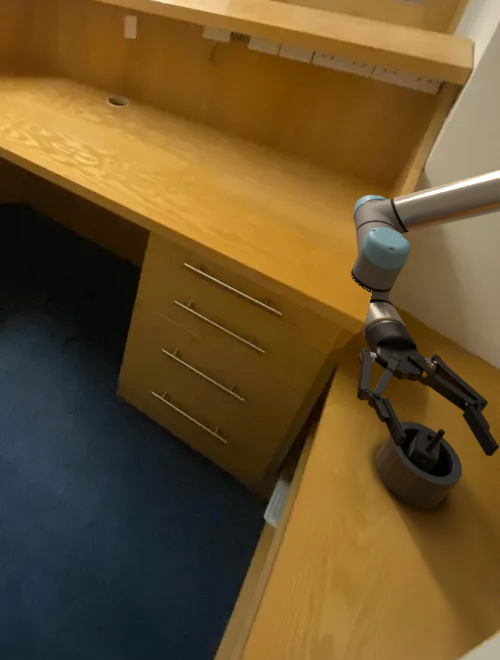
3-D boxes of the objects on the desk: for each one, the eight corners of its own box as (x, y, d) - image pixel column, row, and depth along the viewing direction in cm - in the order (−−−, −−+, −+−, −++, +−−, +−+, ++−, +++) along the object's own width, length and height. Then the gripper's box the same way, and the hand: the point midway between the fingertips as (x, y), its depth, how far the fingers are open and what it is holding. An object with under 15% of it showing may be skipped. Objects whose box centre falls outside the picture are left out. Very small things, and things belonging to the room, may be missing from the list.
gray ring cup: (430, 455, 91) (449, 431, 87) (451, 517, 83) (472, 493, 79) (369, 439, 94) (384, 414, 90) (383, 497, 86) (400, 473, 82)
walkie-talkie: (399, 456, 91) (432, 408, 83) (421, 468, 89) (457, 420, 81) (395, 479, 88) (429, 431, 80) (418, 492, 86) (455, 445, 78)
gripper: (445, 351, 99) (520, 467, 81) (313, 339, 101) (356, 449, 83) (462, 326, 95) (543, 442, 77) (323, 314, 97) (371, 424, 79)
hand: (446, 446), depth 80 cm, fingers open, 13 cm apart
